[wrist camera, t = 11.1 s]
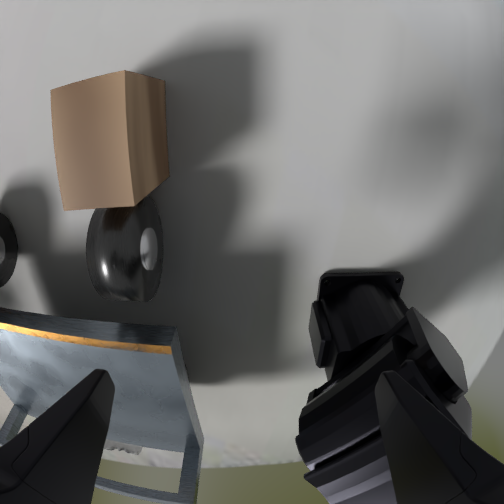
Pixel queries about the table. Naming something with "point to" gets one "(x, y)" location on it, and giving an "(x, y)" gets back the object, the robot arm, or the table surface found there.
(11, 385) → the trolley
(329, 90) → the table surface
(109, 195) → the block
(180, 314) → the table surface
